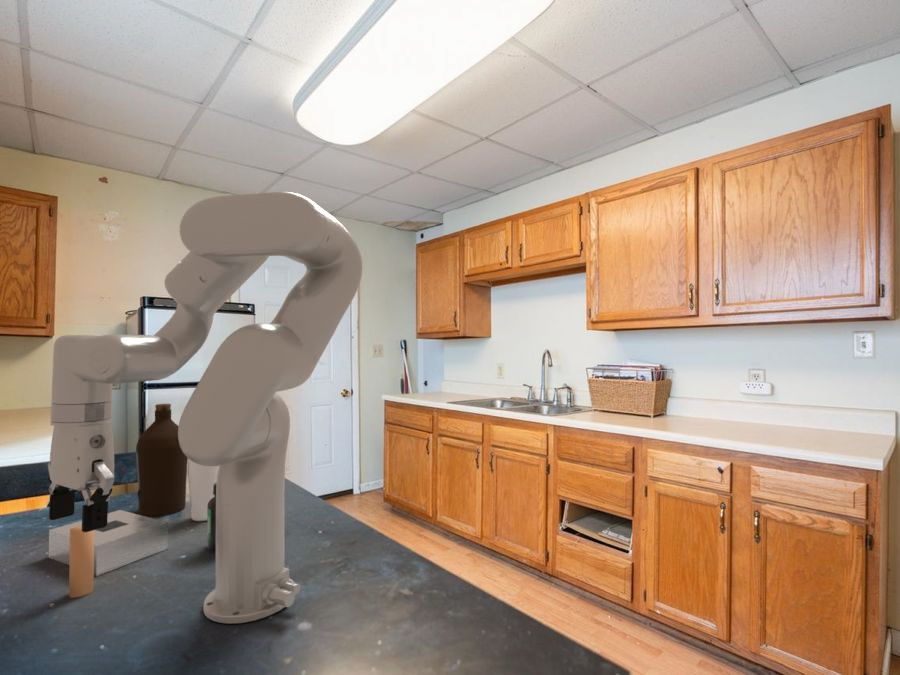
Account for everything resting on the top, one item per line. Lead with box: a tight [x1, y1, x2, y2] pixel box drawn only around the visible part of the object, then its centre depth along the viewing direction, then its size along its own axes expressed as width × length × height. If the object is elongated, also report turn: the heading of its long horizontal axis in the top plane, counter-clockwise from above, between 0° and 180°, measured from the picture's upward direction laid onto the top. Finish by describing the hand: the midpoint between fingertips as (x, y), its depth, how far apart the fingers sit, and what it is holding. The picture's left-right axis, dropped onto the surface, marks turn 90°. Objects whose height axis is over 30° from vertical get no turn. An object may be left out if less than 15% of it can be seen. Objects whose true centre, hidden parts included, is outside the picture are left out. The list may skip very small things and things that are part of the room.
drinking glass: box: [187, 458, 219, 522], centre depth 106 cm, size 7×7×15 cm
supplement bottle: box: [206, 483, 216, 553], centre depth 91 cm, size 7×7×12 cm
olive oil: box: [135, 403, 188, 518], centre depth 112 cm, size 11×11×25 cm
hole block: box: [48, 509, 169, 577], centre depth 88 cm, size 16×12×5 cm
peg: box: [68, 525, 95, 599], centre depth 74 cm, size 3×3×10 cm
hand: (77, 523), depth 74 cm, fingers open, 9 cm apart
